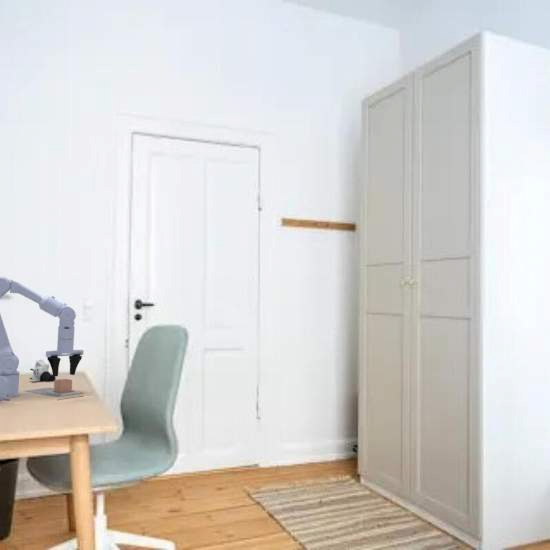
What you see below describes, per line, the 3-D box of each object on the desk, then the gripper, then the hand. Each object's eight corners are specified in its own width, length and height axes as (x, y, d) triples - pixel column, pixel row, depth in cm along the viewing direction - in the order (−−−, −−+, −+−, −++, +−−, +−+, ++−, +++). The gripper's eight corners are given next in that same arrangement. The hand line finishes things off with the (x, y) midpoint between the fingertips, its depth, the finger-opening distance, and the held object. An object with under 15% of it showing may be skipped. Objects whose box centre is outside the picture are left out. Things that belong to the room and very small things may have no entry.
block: (71, 393, 211) (72, 380, 212) (60, 394, 208) (61, 381, 208) (64, 392, 214) (65, 378, 214) (53, 393, 211) (54, 379, 211)
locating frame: (79, 393, 212) (80, 391, 212) (61, 396, 205) (61, 393, 205) (64, 390, 217) (65, 388, 217) (45, 393, 209) (45, 391, 209)
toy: (38, 362, 253) (59, 357, 245) (37, 389, 249) (58, 384, 242) (25, 361, 248) (46, 355, 240) (24, 388, 244) (45, 383, 237)
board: (84, 396, 214) (84, 392, 214) (57, 400, 203) (57, 396, 203) (49, 390, 224) (49, 387, 224) (22, 394, 213) (22, 390, 214)
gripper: (76, 337, 220) (74, 372, 219) (42, 338, 209) (40, 375, 208) (87, 338, 216) (85, 374, 215) (52, 340, 204) (50, 377, 204)
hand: (63, 375), depth 211 cm, fingers open, 6 cm apart
